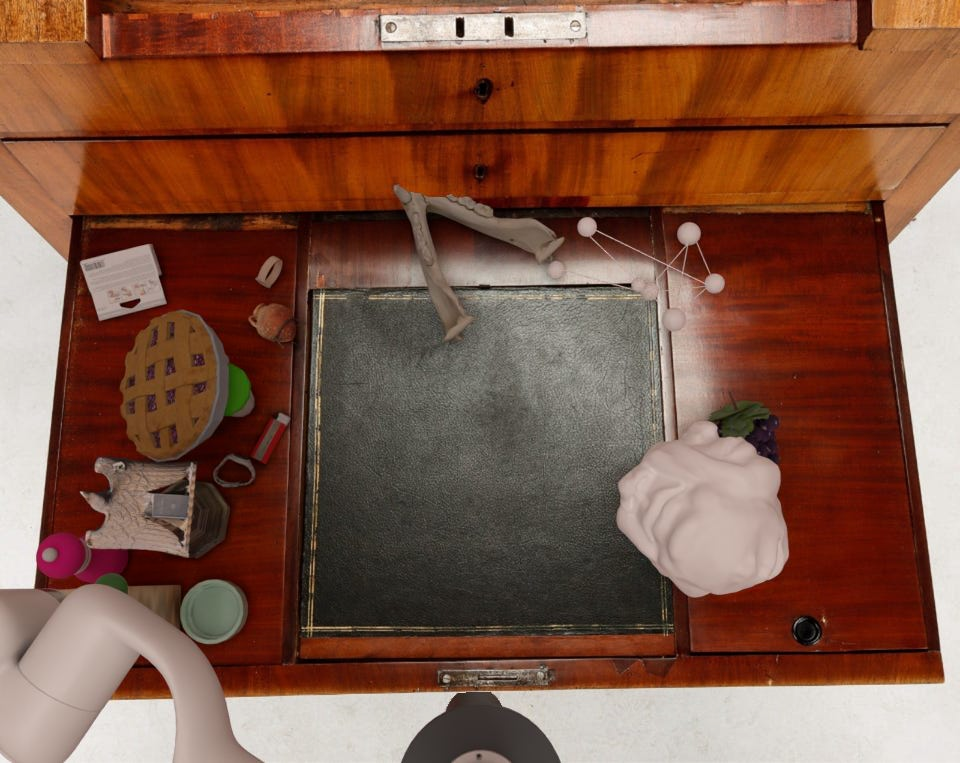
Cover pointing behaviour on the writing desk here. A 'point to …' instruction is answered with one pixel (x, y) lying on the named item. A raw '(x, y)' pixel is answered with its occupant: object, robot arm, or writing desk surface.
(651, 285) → the molecule model
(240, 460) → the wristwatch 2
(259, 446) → the lighter
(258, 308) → the pot
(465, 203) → the jawbone
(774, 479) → the head sculpture
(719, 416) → the fruit
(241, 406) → the cup
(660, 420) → the writing desk surface
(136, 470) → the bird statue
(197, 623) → the pale green round dish
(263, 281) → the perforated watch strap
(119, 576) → the cucumber
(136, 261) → the ink cartridge box
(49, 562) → the pepper mill
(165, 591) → the oak stand
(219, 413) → the pie
